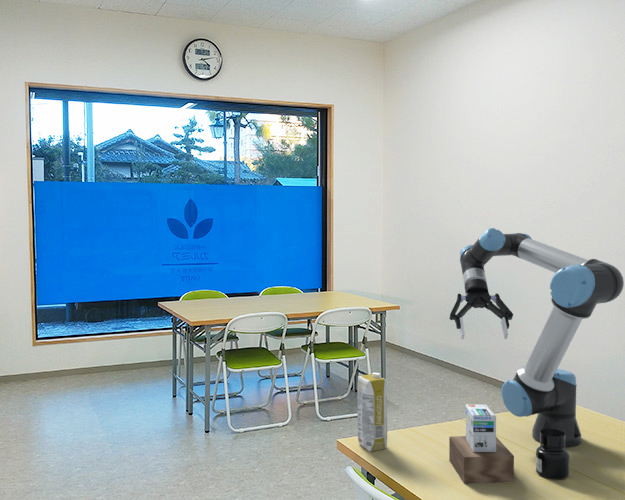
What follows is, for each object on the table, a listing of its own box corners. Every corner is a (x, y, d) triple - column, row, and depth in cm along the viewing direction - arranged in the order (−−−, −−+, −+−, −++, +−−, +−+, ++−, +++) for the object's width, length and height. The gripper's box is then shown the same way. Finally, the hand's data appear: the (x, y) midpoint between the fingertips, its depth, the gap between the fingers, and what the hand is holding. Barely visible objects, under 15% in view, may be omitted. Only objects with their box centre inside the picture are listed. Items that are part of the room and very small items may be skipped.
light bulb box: (496, 452, 174) (496, 415, 173) (472, 452, 174) (472, 415, 174) (487, 439, 185) (487, 403, 184) (464, 439, 185) (464, 403, 184)
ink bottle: (542, 464, 184) (542, 425, 183) (573, 472, 178) (573, 431, 178) (530, 475, 177) (531, 434, 176) (562, 483, 171) (563, 441, 170)
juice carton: (390, 449, 197) (389, 375, 196) (368, 453, 194) (367, 378, 193) (376, 439, 206) (375, 368, 205) (355, 443, 203) (354, 371, 202)
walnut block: (494, 461, 188) (495, 435, 188) (513, 483, 172) (513, 455, 172) (449, 462, 188) (449, 436, 187) (464, 485, 172) (464, 457, 171)
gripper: (510, 291, 213) (522, 343, 199) (437, 291, 215) (443, 342, 201) (514, 277, 208) (526, 329, 193) (439, 277, 209) (446, 329, 195)
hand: (484, 336), depth 197 cm, fingers open, 13 cm apart
